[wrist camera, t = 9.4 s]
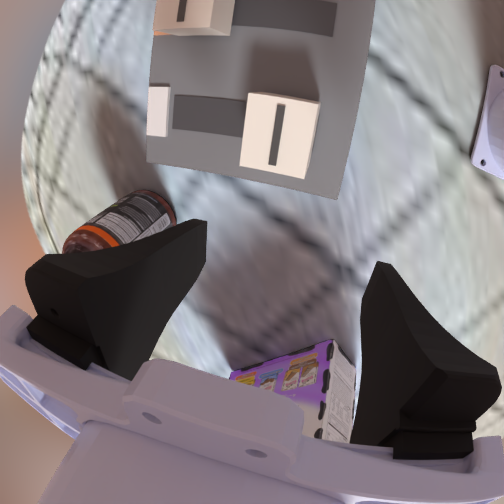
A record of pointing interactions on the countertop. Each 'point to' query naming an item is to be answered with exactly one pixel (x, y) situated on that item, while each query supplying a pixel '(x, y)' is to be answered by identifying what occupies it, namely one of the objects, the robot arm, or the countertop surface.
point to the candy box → (312, 387)
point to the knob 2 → (279, 133)
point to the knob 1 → (194, 17)
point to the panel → (260, 86)
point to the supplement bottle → (122, 223)
